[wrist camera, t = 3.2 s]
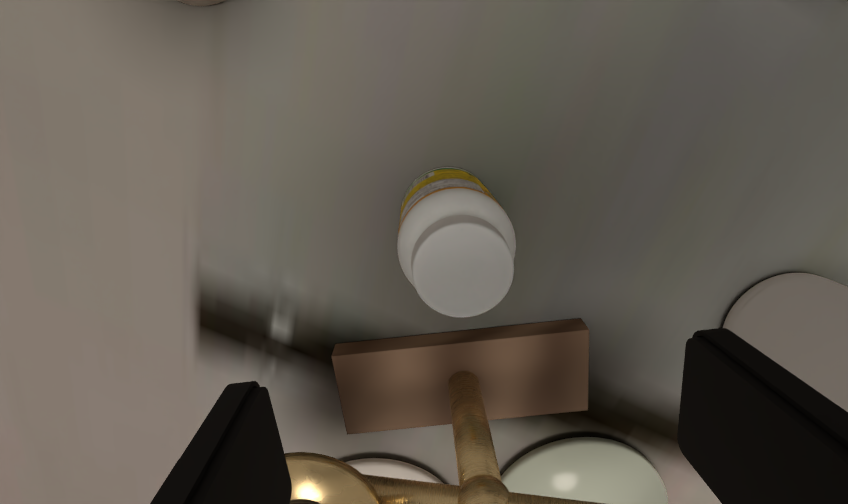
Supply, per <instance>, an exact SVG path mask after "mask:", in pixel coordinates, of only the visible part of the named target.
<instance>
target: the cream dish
mask: <svg viewBox="0 0 848 504" xmlns="http://www.w3.org/2000/svg"><path fill="white" fill-rule="evenodd" d="M345 463H347V464H349V465H350V466H352V467H353V468H355V469H356V470H358V471H359V472H360V473H361V474H366V475H374V476H382V477H390V478H399V479H407V480H415V481H423V482H432V483H440V484H444V483H443V482H441V481H440V480H439V479H438V478H437V477H435V476H434V475H432V474H431V473H429V472H427V471H426V470H424V469H422V468H420V467H417V466H415V465H412V464H409V463H406V462H402V461H398V460H392V459H383V458H366V459H357V460H351V461H347V462H345Z"/></svg>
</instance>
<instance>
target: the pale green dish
mask: <svg viewBox="0 0 848 504" xmlns="http://www.w3.org/2000/svg"><path fill="white" fill-rule="evenodd" d="M501 481H502V483H503V484H504V485H505V486H506V487H507V488H508V490H509V492H514V493H523V494H531V495H539V496H547V497H556V498H564V499H572V500H580V501H589V502H597V503H605V504H668V497H667V491H666V488H665V486H664V483H663V481H662V479H661V478H660V476H659V474H658V473H657V471H656V470H655V468H654V467H653V465H652V464H651V463H650V462H649V460H648V459H647V458H646V457H644V456H643V455H642V454H641V453H640V452H638V451H637V450H635V449H633V448H632V447H630V446H627V445H625V444H623V443H620V442H617V441H614V440H610V439H605V438H598V437H575V438H568V439H562V440H559V441H555V442H551V443H548V444H546V445H543V446H540V447H538V448H536V449H534V450H532V451H530V452H528V453H527V454H525V455H524V456H522V457H521V458H519V459H518V460H517V461H516V462H514V463H513V464H512V465H511V466H510V467H509V468H508V469H507V470H506V471H505V472H504V473H503V474H502V476H501Z"/></svg>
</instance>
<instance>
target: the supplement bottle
mask: <svg viewBox="0 0 848 504" xmlns="http://www.w3.org/2000/svg"><path fill="white" fill-rule="evenodd" d="M515 251H516V238H515V232H514V229H513V226H512V223H511V221H510V219H509V217H508V216H507V214H506V213H505V211H504V210H503V208H502V207H501V206H500V204H499V203H498V202H497V201H496V200H495V198H494V197H493V196H492V194H491V193H490V192H489V191H488V190H487V188H486V187H485V186H484V185H483V184H482V183H481V182H480V181H479V179H478V178H477V177H475V176H474V175H473V174H471V173H470V172H468V171H466V170H463V169H460V168H455V167H441V168H436V169H433V170H430V171H428V172H426V173H424V174H422V175H421V176H419V177H418V178H417V179H416V180H415V181H414V182H413V183H412V184H411V185H410V187H409V188H408V190H407V191H406V193H405V196H404V198H403V201H402V205H401V214H400V223H399V231H398V241H397V252H398V258H399V262H400V265H401V268H402V270H403V272H404V274H405V276H406V277H407V279H408V280H409V281H410V283H411V284H412V285H413V286H414V287H415V288H416V291H417V292H418V294H419V296H420V297H421V299H422V300H423V301H424V302H425V303H426V304H427V305H428V306H429V307H431V308H432V309H433V310H435V311H437V312H439V313H441V314H444V315H447V316H451V317H458V318H461V317H472V316H476V315H479V314H482V313H485V312H487V311H489V310H490V309H492V308H493V307H495V306H496V305H497V304H498V303H499V302H500V301H501V300H502V299H503V298H504V297H505V295H506V294H507V292H508V290H509V288H510V286H511V284H512V280H513V275H514V257H515Z"/></svg>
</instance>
